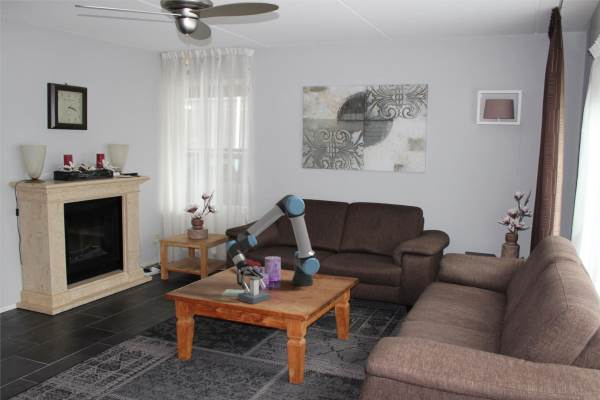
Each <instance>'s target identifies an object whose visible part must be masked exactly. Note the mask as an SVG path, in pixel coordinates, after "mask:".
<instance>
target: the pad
mask: <svg viewBox="0 0 600 400" xmlns="http://www.w3.org/2000/svg"><path fill="white" fill-rule="evenodd" d="M244 292H245V290H244V289H230V288H227V289H225V290H224V291H223V292H222V293H221V297H236V298H238V294H240V293H244Z"/></svg>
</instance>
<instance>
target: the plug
mask: <svg viewBox="0 0 600 400" xmlns="http://www.w3.org/2000/svg"><path fill="white" fill-rule="evenodd" d="M248 279H249V290H250V295H253V296H255V295H258V294H259V291H260V290H259V289H260V284H259V279H260V278H259V277H256V276H250V277H248Z"/></svg>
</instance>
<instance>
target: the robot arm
mask: <svg viewBox="0 0 600 400" xmlns="http://www.w3.org/2000/svg"><path fill="white" fill-rule="evenodd" d="M305 207H306V205H305V202H304V200H303V199H302V197H300V196H297V195H294V194H287V195H285V196H283V197H282V198H281V199H280V200H278V201H277V202H276V203H275V204H274V207H273V208H271V209H270V210H269V211H267V212H266V213H265V214H264V215H262V216H261V218H260V219H258V220H257V221H256V222H255V223H253V224H252V225H251V226H250V227H248V228H247V229H246V230H245V231H244V232H240V233H239V234H238V236H237V241H236V240H229V241H227V243H226V244H225V249H226V251H227V253H228V255H229V256H230V258H231V260H232V261H233V264H234V265H235V268H236V270H235V274H236V283H237V285H239V286H241V287H242V290H244V292H246V293H247V294H248V293H249V292H250V288H249V287H248V285H247V284H246V281H245V277H246V276H250V277H253V276H256V277H259V278H260V279H259V286H260V287H261V288H262V290H263V291H264V290H265V289H266V288H267V287H266V285H265V282H264V279H263V278H264V274H263V275H262V273H260V271H259V272H258V271H257V270H256V269H255V268H254V267H253V266H252V267H250V266H249V264H248V262H247V261H246V259H245V258H246V257H245V255H244V254H243V253H244V252H246V251H247V250H249V249H251V248H254V247H255V246H256V245H257V244H258V241H257V239H256V237H258V236H259V235H260V234H261V233H262V232H264V231H265V230H266V229H267V228H269V227H270V226H271V225H272V224H273V223H275V222H276V221H277V220H278V219H279V218H280V217H282V216H285V215H287V218H288V220H290V222H291V226H292V229H293V233H294V236H295V241H296V245H297V250H298V251H295V252H294V270H293V271H294V273H293V276H292V277H291V278H292V279H291V285H293V286H298V287H308V286H313V285H314V279H313V276H312V275H314V274H316V273H317V272H319V269H320V267H321V266H320V262H319V260H318V258H317V257H316V252H315V251H314V250H313V249H312V246H311V245H312V244H311V241H310V238H309V234H308V233H309V232H308V229H307V225H306V221H305V215H306V212H305ZM240 273H241V274H240Z"/></svg>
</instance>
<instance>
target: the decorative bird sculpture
mask: <svg viewBox="0 0 600 400" xmlns="http://www.w3.org/2000/svg"><path fill="white" fill-rule="evenodd" d="M245 259H246V261H247V262H248V264H249V267H250V268H251V267H252V266H253V267H254V266H258V267H262V265H261V263H260V262H259V261H253V260H252V259H249V258H248V259H247V258H246V257H245ZM240 275H241V273H240Z"/></svg>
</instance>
